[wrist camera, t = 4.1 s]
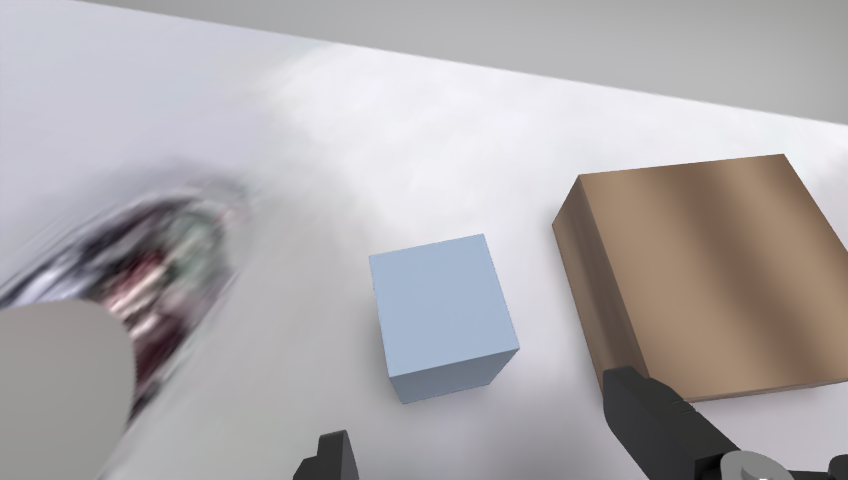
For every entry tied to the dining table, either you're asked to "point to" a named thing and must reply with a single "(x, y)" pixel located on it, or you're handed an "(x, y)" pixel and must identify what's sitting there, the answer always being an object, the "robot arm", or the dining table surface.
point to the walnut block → (708, 277)
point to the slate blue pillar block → (442, 317)
